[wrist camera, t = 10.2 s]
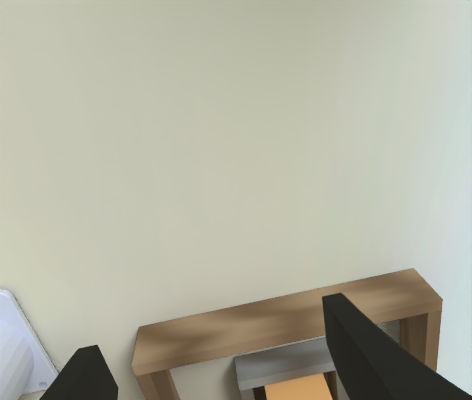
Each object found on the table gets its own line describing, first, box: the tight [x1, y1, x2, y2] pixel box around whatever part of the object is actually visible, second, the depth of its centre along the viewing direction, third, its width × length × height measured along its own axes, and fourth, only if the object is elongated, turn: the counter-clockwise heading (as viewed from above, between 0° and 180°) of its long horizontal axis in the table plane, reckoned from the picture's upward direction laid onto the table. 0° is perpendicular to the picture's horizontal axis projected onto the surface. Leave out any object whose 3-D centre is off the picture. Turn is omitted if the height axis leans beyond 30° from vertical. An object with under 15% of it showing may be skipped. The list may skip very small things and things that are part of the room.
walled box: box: [131, 268, 443, 400], centre depth 25 cm, size 18×16×3 cm
